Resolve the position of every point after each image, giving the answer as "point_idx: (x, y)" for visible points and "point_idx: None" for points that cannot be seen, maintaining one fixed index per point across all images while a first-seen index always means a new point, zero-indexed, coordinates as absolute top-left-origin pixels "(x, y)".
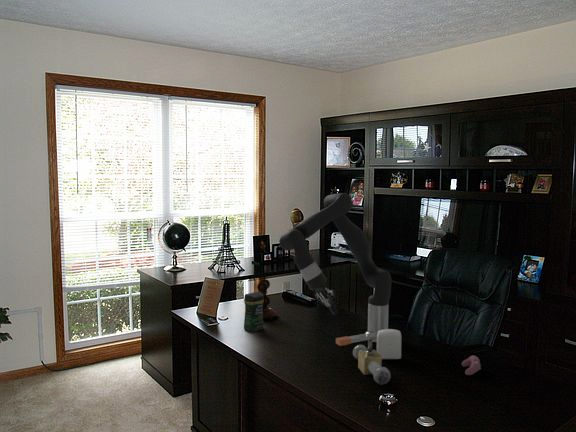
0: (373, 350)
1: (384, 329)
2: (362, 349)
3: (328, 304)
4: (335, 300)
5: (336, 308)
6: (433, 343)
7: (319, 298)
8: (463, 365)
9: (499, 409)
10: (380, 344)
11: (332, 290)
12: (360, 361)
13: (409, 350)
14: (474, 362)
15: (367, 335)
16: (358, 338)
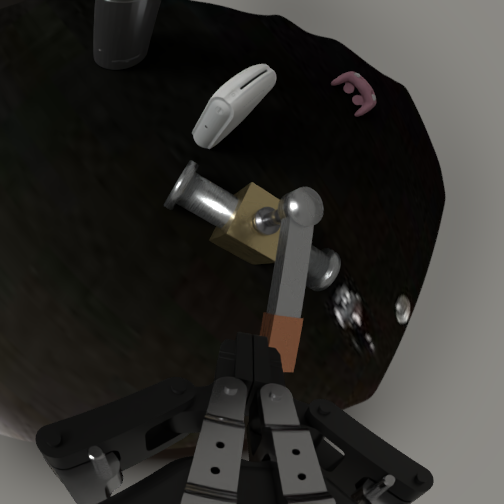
0: (253, 190)
1: (240, 83)
2: (201, 189)
3: (259, 436)
4: (337, 409)
5: (280, 364)
6: (232, 16)
7: (121, 467)
8: (334, 85)
9: (421, 200)
10: (227, 128)
11: (425, 491)
12: (235, 247)
13: (223, 61)
14: (372, 99)
15: (309, 230)
16: (304, 279)
